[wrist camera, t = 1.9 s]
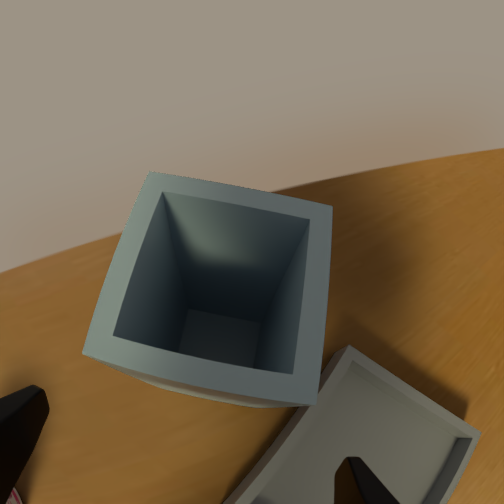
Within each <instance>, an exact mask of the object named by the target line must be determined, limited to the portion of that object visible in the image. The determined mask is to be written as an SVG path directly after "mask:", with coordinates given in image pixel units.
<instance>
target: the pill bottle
mask: <svg viewBox="0 0 504 504" xmlns="http://www.w3.org/2000/svg"><path fill="white" fill-rule="evenodd" d="M6 504H22V501H21V498H20V496H19V494H18V492H17V491H16V489H15V488H13V490H12V492H11V494H10V496H9V498H8V500H7V502H6Z"/></svg>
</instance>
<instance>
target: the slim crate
mask: <svg viewBox="0 0 504 504" xmlns="http://www.w3.org/2000/svg"><path fill="white" fill-rule="evenodd" d="M332 214H333V206H330V205H326V204H321V203H317V202H312V201H308V200H303V199H299V198H294V197H289V196H284V195H280V194H275V193H270V192H265V191H260V190H255V189H249V188H244V187H239V186H233V185H228V184H223V183H217V182H212V181H206V180H200V179H194V178H188V177H182V176H176V175H169V174H163V173H156V172H149V173H148V175H147V177H146V180H145V182H144V184H143V186H142V188H141V191H140V193H139V195H138V197H137V200H136V202H135V204H134V207H133V209H132V212H131V214H130V216H129V218H128V221H127V223H126V226H125V228H124V231H123V233H122V236H121V238H120V241H119V243H118V246H117V248H116V251H115V254H114V256H113V259H112V262H111V264H110V267H109V270H108V273H107V276H106V278H105V281H104V284H103V287H102V290H101V293H100V296H99V299H98V302H97V305H96V308H95V311H94V314H93V318H92V321H91V324H90V328H89V331H88V334H87V338H86V341H85V345H84V348H83V352H82V354H84V355H86V356H88V357H90V358H92V359H94V360H96V361H98V362H101V363H103V364H105V365H107V366H109V367H111V368H114V369H116V370H118V371H120V372H123V373H125V374H127V375H129V376H132V377H134V378H137V379H139V380H141V381H144V382H146V383H149V384H151V385H154V386H156V387H159V388H162V389H166V390H170V391H174V392H178V393H182V394H186V395H191V396H195V397H200V398H205V399H209V400H214V401H219V402H225V403H230V404H235V405H241V406H247V407H253V408H276V407H296V406H311V405H316V403H317V395H318V388H319V380H320V372H321V364H322V355H323V346H324V336H325V325H326V314H327V303H328V290H329V275H330V259H331V240H332Z"/></svg>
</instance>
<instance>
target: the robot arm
mask: <svg viewBox="0 0 504 504" xmlns="http://www.w3.org/2000/svg"><path fill="white" fill-rule="evenodd" d="M48 414H49V404H48V400H47V397H46V393H45V391H44V389H42V388H40V387H38V386H36V385H30V386H28V387H26V388H23V389H21V390H19V391H16V392H14V393H12V394H10V395H7V396H5V397H2V398H0V504H6V502H7V500H8V498H9V496H10V494H11V492H12V490H13V488H14V486H15V484H16V482H17V480H18V478H19V477H20V475H21V473H22V471H23V469H24V467H25V465H26V463H27V461H28V460H29V458H30V456H31V454H32V452H33V450H34V448H35V445H36V443H37V441H38V438H39V436H40V433H41V431H42V428H43V426H44V424H45V421H46V419H47V417H48ZM334 504H400V503H399V501H398V500H397V499H396V498H395V497H394V496H393V495H392V494H391V492H390V491H389V490H388V489H387V488H386V487H385V486H384V484H383V483H382V482H381V481H380V480H379V479H378V477H377V476H376V475H375V474H374V473H373V472H372V470H371V469H370V468H369V467H368V466H367V465H366V463H365V462H364V461H363V460H362V459H361V458H360V457H357V456H348V457H346V458H345V459H344V460H343V461H342V463H341V464H340V466H339V467H338V469H337V470H336V472H335V476H334Z"/></svg>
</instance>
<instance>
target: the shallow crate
mask: <svg viewBox="0 0 504 504" xmlns="http://www.w3.org/2000/svg"><path fill="white" fill-rule="evenodd" d="M480 435H481V432H480V431H478V430H477V429H475V428H474V427H472V426H471V425H469V424H468V423H466V422H464V421H463V420H461V419H460V418H458V417H457V416H455V415H454V414H452V413H451V412H449V411H448V410H446V409H445V408H443V407H441V406H440V405H438V404H437V403H435V402H434V401H432V400H431V399H429V398H428V397H426V396H425V395H423V394H422V393H420V392H419V391H417V390H416V389H414V388H413V387H411V386H410V385H408V384H407V383H405V382H404V381H402V380H401V379H399V378H398V377H396V376H395V375H393V374H392V373H390V372H389V371H387V370H386V369H384V368H383V367H381V366H380V365H378V364H377V363H376V362H374V361H373V360H371V359H370V358H368V357H367V356H365V355H364V354H362V353H361V352H359V351H358V350H356V349H355V348H354V347H352V346H351V345H347V346H345V347H344V348H342V349H340V350H338V351H336V352H335V353H334V355H333V356H332V358H331V360H330V361H329V363H328V364H327V366H326V367H325V369H324V371H323V372H322V374H321V375H320V380H319V388H318V395H317V403H316V405H311V406H299V408H298V409H297V411H296V412H295V413H294V415H293V416H292V418H291V419H290V420H289V422H288V423H287V424H286V426H285V427H284V429H283V430H282V431H281V433H280V434H279V435H278V437H277V438H276V439H275V441H274V442H273V443H272V445H271V446H270V447H269V448H268V450H267V451H266V452H265V454H264V455H263V456H262V457H261V459H260V460H259V461H258V462H257V464H256V465H255V466H254V467H253V469H252V470H251V471H250V472H249V473H248V475H247V476H246V477H245V478H244V479H243V481H242V482H241V483H240V484H239V485H238V487H237V488H236V489H235V490H234V491H233V492H232V493H231V495H230V496H229V497H228V498H227V499H226V500H225V501H224V503H223V504H334V476H335V472H336V470H337V469H338V467H339V466H340V464H341V463H342V461H343V460H344V459H345V458H346V457H348V456H357V457H360V458H361V459H362V460H363V461H364V462H365V463H366V465H367V466H368V467H369V468H370V469H371V470H372V472H373V473H374V474H375V475H376V476H377V477H378V479H379V480H380V481H381V482H382V483H383V484H384V486H385V487H386V488H387V489H388V490H389V491H390V492H391V494H392V495H393V496H394V497H395V498H396V499H397V500H398V501H399V503H400V504H447V502H448V500H449V498H450V497H451V495H452V493H453V491H454V489H455V488H456V486H457V484H458V482H459V480H460V478H461V476H462V474H463V472H464V470H465V468H466V466H467V464H468V462H469V460H470V458H471V456H472V454H473V451H474V449H475V447H476V445H477V442H478V440H479V438H480Z"/></svg>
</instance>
